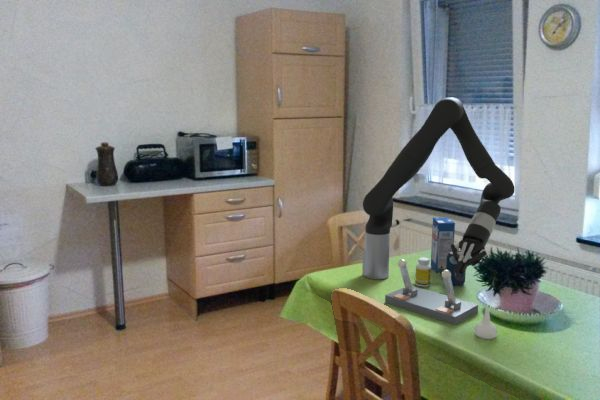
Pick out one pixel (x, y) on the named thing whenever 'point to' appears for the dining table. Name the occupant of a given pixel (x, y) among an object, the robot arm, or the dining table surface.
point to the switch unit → (432, 304)
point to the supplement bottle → (423, 272)
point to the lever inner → (405, 275)
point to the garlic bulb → (485, 328)
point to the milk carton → (441, 242)
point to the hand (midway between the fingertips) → (458, 273)
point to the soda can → (450, 265)
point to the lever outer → (449, 287)
